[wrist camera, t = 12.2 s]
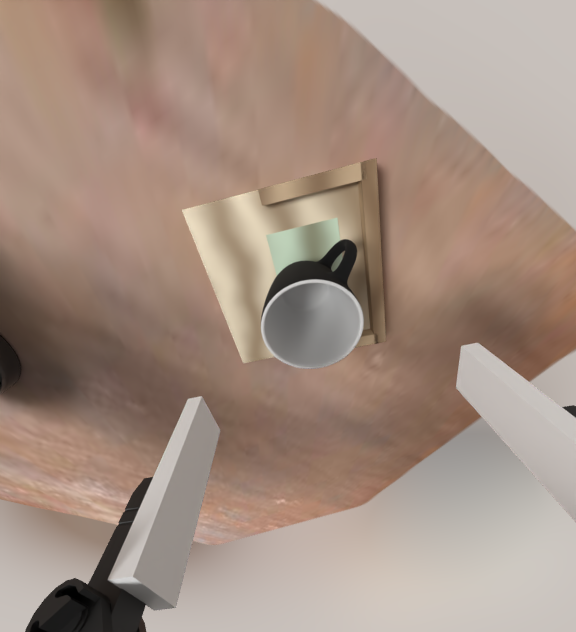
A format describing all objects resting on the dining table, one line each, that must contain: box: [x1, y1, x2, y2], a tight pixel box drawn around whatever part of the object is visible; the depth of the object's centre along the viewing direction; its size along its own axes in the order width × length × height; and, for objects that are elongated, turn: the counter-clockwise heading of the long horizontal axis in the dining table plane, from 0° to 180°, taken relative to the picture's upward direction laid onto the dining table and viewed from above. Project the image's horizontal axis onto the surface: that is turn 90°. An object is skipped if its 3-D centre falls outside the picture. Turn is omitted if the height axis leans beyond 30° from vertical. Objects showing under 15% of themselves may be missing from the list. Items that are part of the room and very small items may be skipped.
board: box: [182, 158, 386, 363], centre depth 30 cm, size 20×21×4 cm
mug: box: [261, 239, 364, 369], centre depth 25 cm, size 12×9×10 cm
